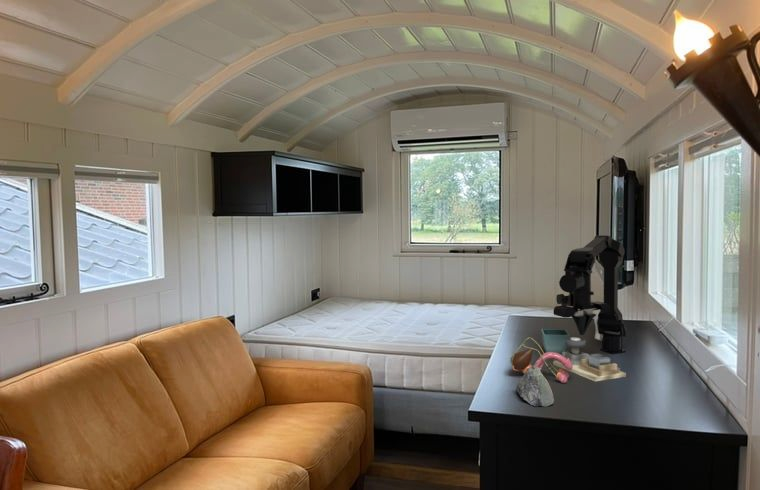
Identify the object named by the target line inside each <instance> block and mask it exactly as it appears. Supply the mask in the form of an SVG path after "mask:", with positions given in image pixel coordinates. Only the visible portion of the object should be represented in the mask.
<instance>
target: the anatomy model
mask: <svg viewBox="0 0 760 490" xmlns="http://www.w3.org/2000/svg"><path fill="white" fill-rule="evenodd" d="M529 339H531V340H532V341H533V342H534V343H535V344H536V345H538V347H539V349H540V351H542V353H541V352H540V351H539V349H537V348H533V347H532V346H531V347H529V346H525V342H526V341H527V340H529ZM522 346H523V347H524V348H526V349H523V350H521V351H520V348H522ZM533 351H537V352H538V354H539V357H538V359H537V360H536V361H535V363H534V365H535V366H537V367H538V368H539V370H540V371H541V370H542V368H543V365H544V364H545V366H546V367H544V370H545V371H547V372H551V373H552V374H553V375H554V376H555V377H556V379H557V380H558V381H559V382H560V383H562V384H566V383H567V382H568V379H569V377H570V375H569V373H568V372H567V371H568V370H571V369H572V368H573V365H572V363H571V361H570V359H569V358H567V359H566V358H565V357H563V356H562V355H560V354H558V353H554V352H547V353H546V352H544V350H543V349H542V346H541V345H540V344H539V343H538V342H537V341H536V340H535V339H534V338H532V337H530V336H529V337H527V338H525V339H524V340H523V342H521V344H520V345H519V346H518V348H517V349H516V350H515V352H514V353H513V354H512V356H511V358H510V365H511V366H512V367H511V369H513V371H515V372H516V371H517V372H520V371H522V373H523V374H525V373H526V371H527V369H528V368H530V367H532V366H534V365H532V364H531V362H532V359H533ZM549 360H553V361H559V362H560V363H562V364H563V365H564V367H565V368H566V369H568V370H565V369H563V368H561V367H559V369H558V370H557V369H556V366H554V365H553V363H551V362H550V361H549ZM546 361H547V362H546ZM547 363H549V364H547ZM550 367H551V368H550ZM547 369H548V370H547ZM553 370H555V371H556V372H557V373H555V372H554V371H553Z"/></svg>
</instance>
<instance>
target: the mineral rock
mask: <svg viewBox="0 0 760 490" xmlns="http://www.w3.org/2000/svg"><path fill="white" fill-rule="evenodd" d="M515 388H516V389H515V390H517V392H518V395H519V396H520V397H521V398H522V399H523V400H524V401H526V402H527V403H528V404H530V405H531V406H534V407H544V408H545V407H549V406H551V405H553V404H554V402H555V398H554V394H553V391H552V388H551V386H550V383H549V382H548V380H547V379H546V377H545V376H544V375H543V373H542V372H541V371H540V370H539V368H538V367H537V366H535V365H532V367H530V368H528V369H527V371H526V373H524V374H523V376H522V377H520V378H519V380H518V381H517V384H516V386H515Z"/></svg>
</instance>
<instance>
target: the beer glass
mask: <svg viewBox="0 0 760 490" xmlns="http://www.w3.org/2000/svg"><path fill="white" fill-rule="evenodd" d="M595 301H596V300H595ZM595 301H593V302H595ZM598 301H599V302H604V300H598ZM599 312H601V310H593V314H596V316H594V318H593V319H594V326H595V334H594V339H595V340H596V339H597V341H600V342H602V339H603V334H599V332H598V326H597V320H598V314H599Z"/></svg>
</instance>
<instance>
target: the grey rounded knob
mask: <svg viewBox="0 0 760 490" xmlns="http://www.w3.org/2000/svg"><path fill="white" fill-rule="evenodd" d="M586 343H587V341H586V339H584V338H581V337H578V336H571V337H569V338H567V339H565V345H566V346H568V348H571V351H572V354H574V355H578V354H579V351H580V348H581V349H582V348H585V347H586V346H587V344H586Z"/></svg>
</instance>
